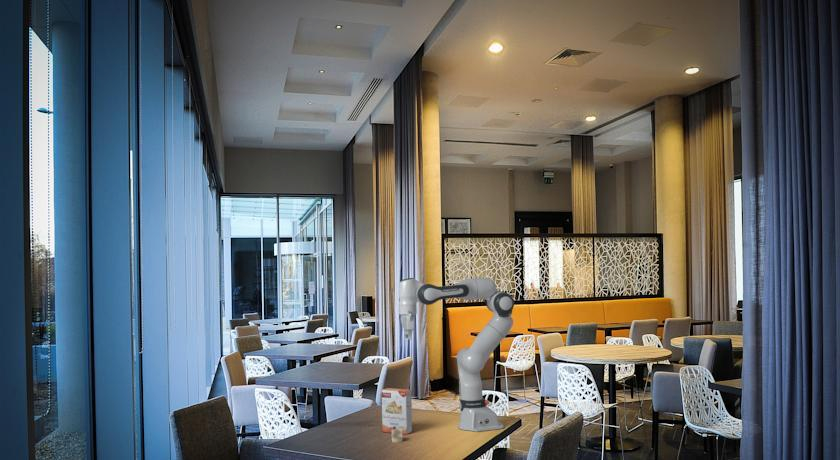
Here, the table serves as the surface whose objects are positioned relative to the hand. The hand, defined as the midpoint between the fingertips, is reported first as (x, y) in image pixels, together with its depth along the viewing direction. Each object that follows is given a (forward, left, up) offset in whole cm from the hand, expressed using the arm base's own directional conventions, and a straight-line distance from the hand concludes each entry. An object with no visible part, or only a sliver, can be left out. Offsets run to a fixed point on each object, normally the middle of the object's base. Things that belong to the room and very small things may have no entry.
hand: (408, 338), depth 312 cm
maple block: (+8, +15, -46) cm, 49 cm away
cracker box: (+6, -1, -46) cm, 46 cm away
